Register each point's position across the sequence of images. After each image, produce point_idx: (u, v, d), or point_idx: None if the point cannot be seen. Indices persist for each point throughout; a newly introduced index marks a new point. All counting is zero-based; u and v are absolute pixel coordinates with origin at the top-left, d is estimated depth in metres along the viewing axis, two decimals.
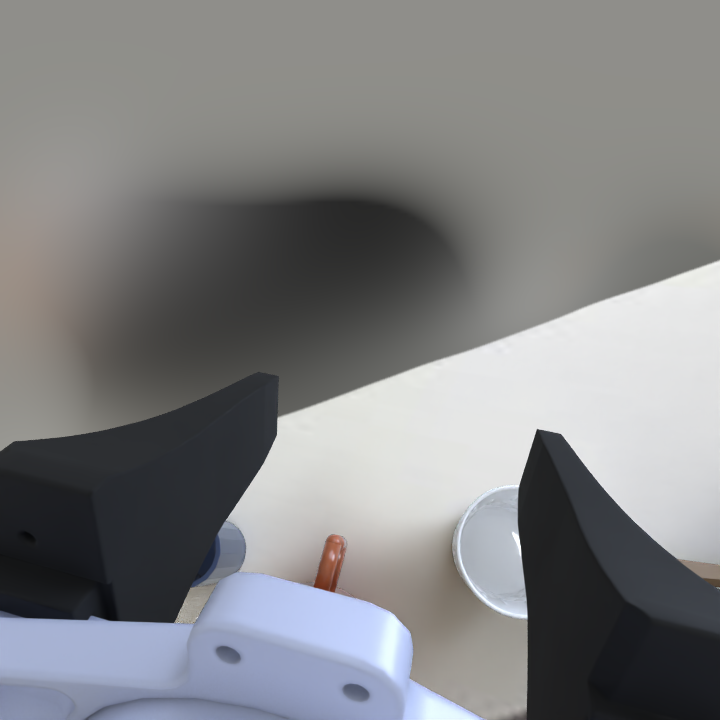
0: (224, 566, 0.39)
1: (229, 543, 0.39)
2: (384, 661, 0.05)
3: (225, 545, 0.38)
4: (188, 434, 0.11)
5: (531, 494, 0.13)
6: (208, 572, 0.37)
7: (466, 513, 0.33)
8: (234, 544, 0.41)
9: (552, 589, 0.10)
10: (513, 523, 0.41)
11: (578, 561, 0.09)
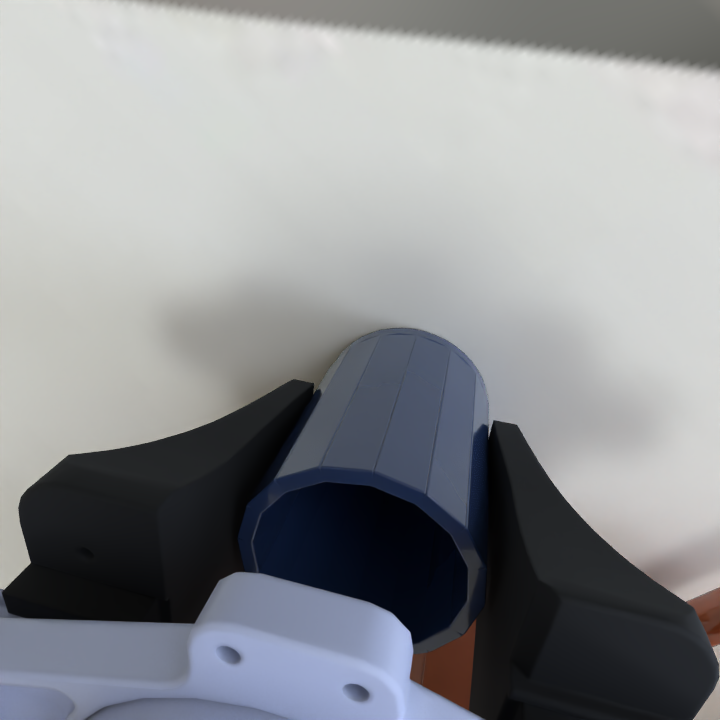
0: None
1: None
2: (384, 661, 0.05)
3: None
4: (235, 445, 0.10)
5: None
6: None
7: None
8: None
9: (494, 575, 0.10)
10: None
11: (512, 545, 0.09)
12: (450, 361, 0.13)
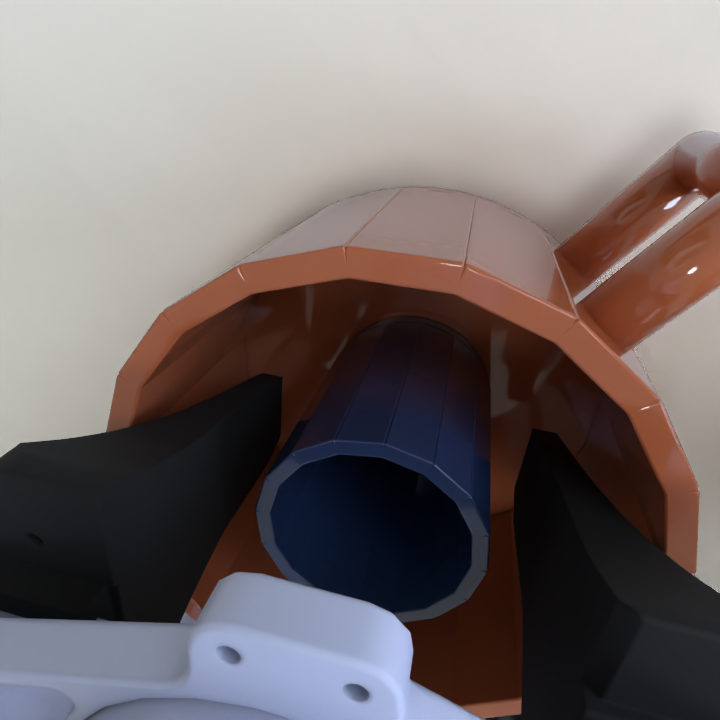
0: None
1: None
2: (384, 661, 0.05)
3: None
4: (193, 435, 0.11)
5: (526, 493, 0.13)
6: (409, 615, 0.11)
7: None
8: None
9: (546, 588, 0.10)
10: None
11: (571, 560, 0.09)
12: (454, 347, 0.14)
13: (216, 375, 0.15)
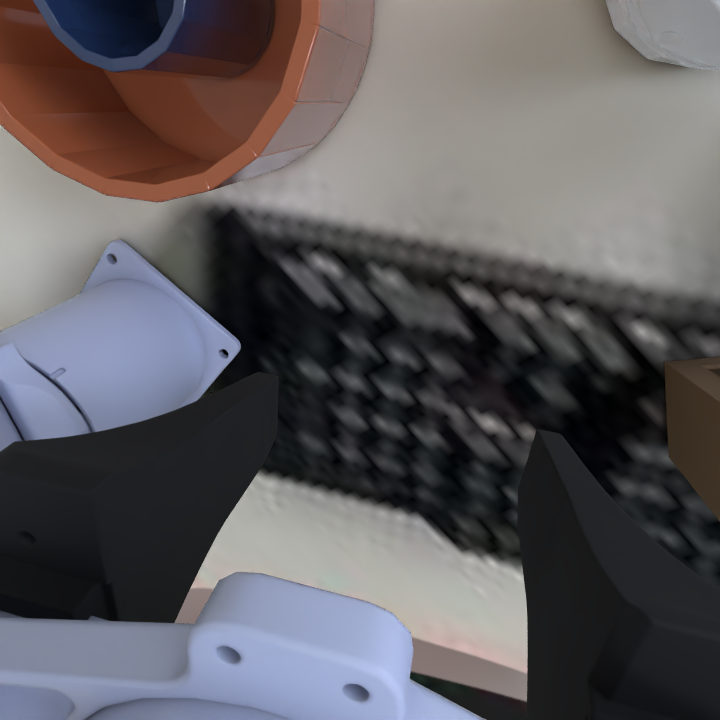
0: (201, 55, 0.16)
1: (223, 1, 0.16)
2: (384, 661, 0.05)
3: (207, 1, 0.15)
4: (188, 434, 0.11)
5: (531, 494, 0.13)
6: (148, 53, 0.15)
7: None
8: (240, 10, 0.17)
9: (552, 589, 0.10)
10: None
11: (578, 561, 0.09)
12: None
13: None
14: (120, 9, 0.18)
